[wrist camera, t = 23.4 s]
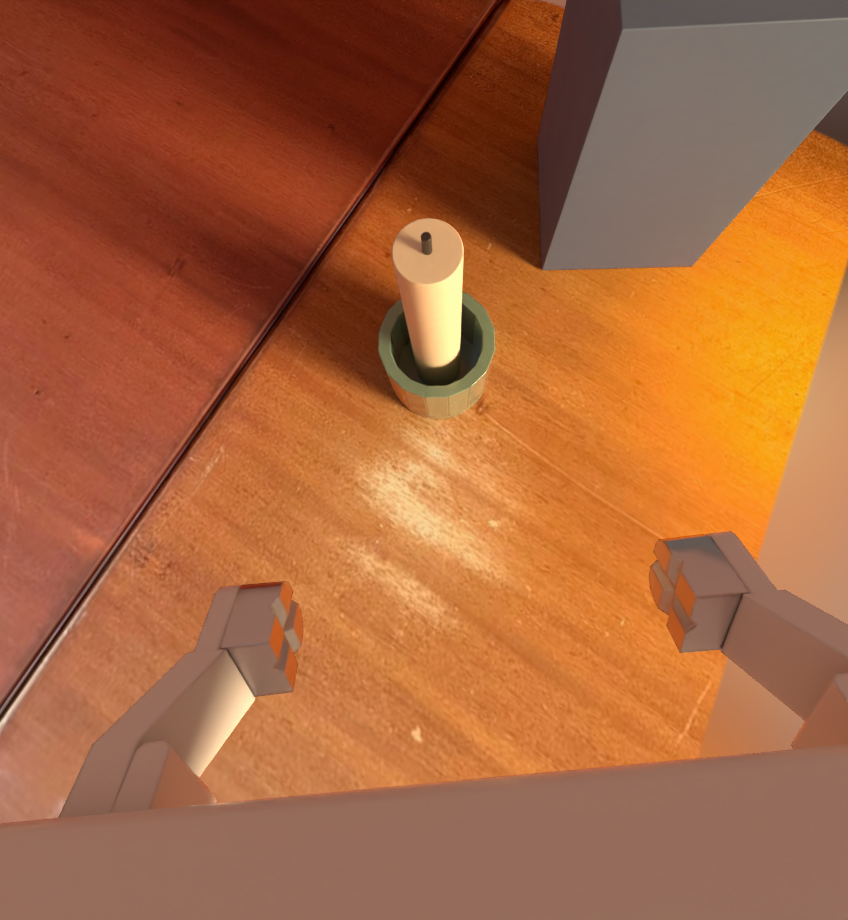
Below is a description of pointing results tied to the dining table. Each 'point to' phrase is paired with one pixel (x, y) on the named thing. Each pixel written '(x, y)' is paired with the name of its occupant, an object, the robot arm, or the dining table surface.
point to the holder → (472, 372)
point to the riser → (676, 120)
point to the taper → (431, 296)
